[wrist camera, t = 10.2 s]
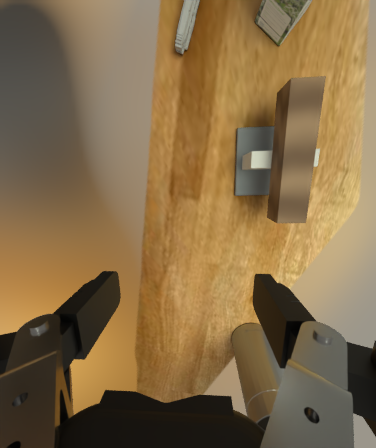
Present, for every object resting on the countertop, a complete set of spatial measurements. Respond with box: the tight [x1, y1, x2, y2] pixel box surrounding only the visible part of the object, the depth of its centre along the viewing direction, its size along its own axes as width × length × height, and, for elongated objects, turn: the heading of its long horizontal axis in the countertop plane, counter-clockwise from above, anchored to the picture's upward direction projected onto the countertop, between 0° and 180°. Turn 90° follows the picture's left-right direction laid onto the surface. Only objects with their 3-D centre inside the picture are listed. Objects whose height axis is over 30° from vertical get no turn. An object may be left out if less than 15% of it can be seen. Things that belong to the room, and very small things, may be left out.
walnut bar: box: [267, 76, 326, 223], centre depth 26 cm, size 18×4×4 cm, turn 2°
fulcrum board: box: [235, 126, 320, 196], centre depth 31 cm, size 12×12×7 cm
